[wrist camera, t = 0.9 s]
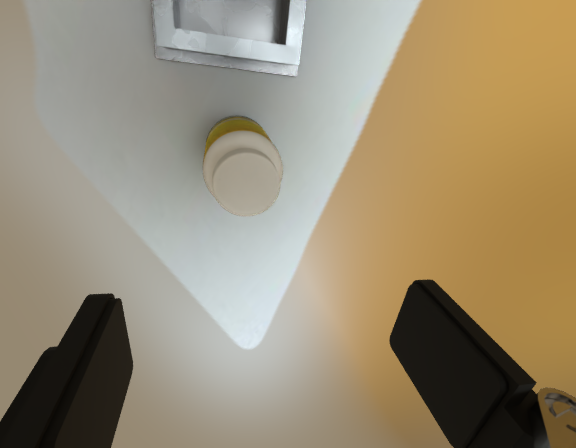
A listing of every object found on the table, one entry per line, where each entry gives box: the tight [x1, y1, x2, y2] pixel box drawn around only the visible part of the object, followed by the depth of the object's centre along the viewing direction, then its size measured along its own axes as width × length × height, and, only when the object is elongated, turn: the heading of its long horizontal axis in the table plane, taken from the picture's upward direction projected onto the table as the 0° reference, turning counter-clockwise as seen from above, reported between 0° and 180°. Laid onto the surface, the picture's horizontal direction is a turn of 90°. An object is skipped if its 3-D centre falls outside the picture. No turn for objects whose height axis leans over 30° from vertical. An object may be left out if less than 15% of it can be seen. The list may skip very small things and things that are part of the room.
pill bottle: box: [203, 116, 283, 216], centre depth 25 cm, size 6×6×11 cm
